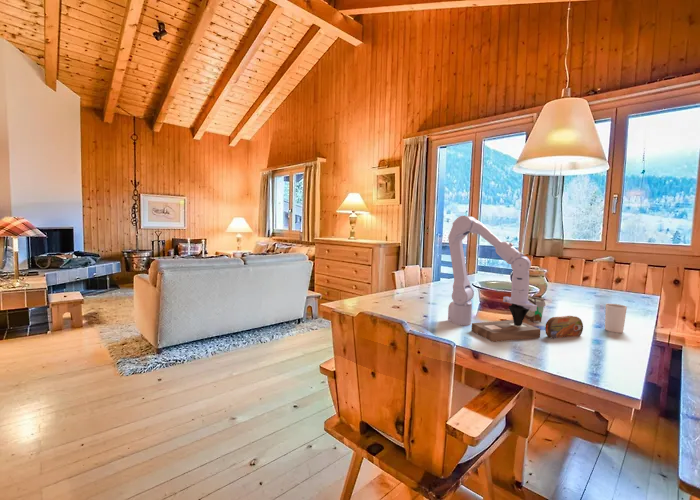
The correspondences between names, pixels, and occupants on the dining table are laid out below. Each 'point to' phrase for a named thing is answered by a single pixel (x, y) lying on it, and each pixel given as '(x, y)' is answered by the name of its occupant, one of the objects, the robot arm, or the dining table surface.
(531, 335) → the panel
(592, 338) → the dining table surface
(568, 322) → the tin
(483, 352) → the dining table surface
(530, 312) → the food container
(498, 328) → the pale pink block
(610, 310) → the beige cup
